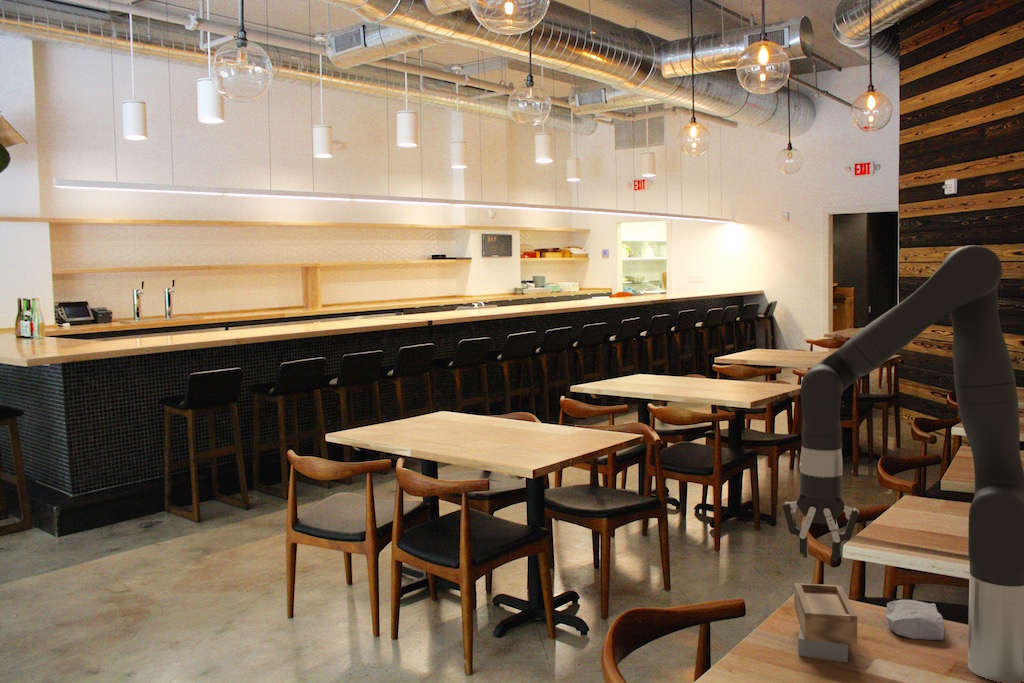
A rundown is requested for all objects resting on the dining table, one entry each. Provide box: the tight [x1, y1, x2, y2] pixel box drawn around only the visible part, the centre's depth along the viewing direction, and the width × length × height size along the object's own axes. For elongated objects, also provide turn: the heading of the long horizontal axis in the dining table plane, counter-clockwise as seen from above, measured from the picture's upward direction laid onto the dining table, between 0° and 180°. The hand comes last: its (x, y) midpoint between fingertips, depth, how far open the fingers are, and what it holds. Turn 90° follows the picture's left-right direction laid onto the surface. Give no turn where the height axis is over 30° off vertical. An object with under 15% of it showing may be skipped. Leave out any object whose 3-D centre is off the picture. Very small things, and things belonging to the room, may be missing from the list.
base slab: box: [797, 626, 849, 663], centre depth 155 cm, size 8×15×4 cm, turn 158°
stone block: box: [885, 599, 945, 641], centre depth 161 cm, size 12×5×10 cm
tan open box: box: [793, 582, 858, 645], centre depth 155 cm, size 9×15×5 cm, turn 168°
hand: (819, 557), depth 154 cm, fingers open, 4 cm apart
